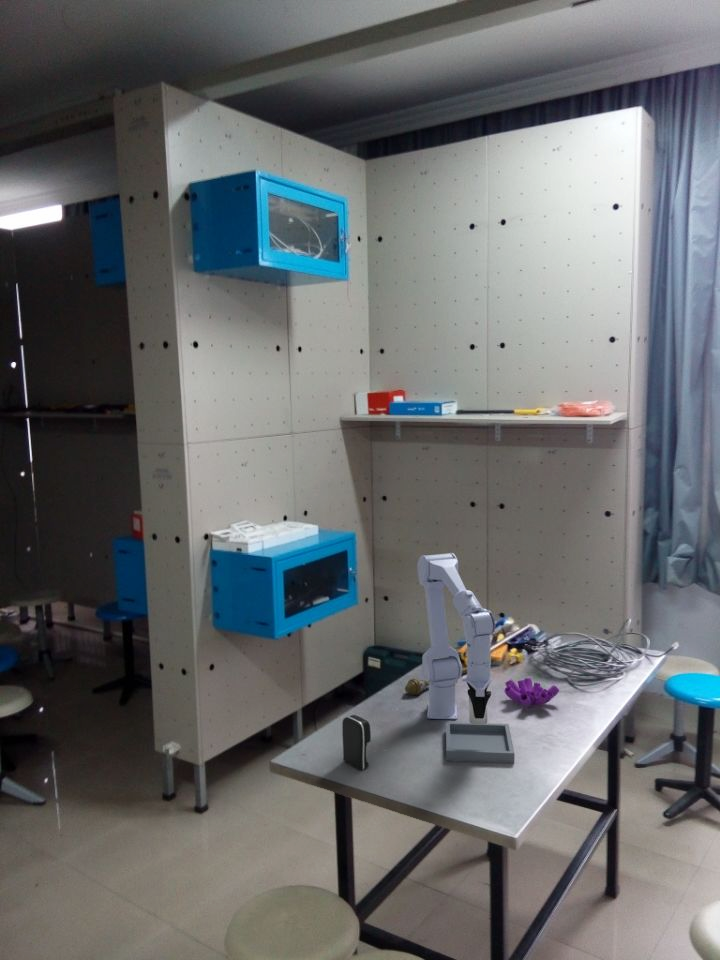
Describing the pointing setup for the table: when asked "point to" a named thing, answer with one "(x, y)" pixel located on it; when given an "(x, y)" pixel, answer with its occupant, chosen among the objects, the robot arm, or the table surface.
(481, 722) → the cylinder
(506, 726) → the tray
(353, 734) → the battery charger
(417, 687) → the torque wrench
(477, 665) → the robot arm
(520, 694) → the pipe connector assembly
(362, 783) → the table surface
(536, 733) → the table surface
